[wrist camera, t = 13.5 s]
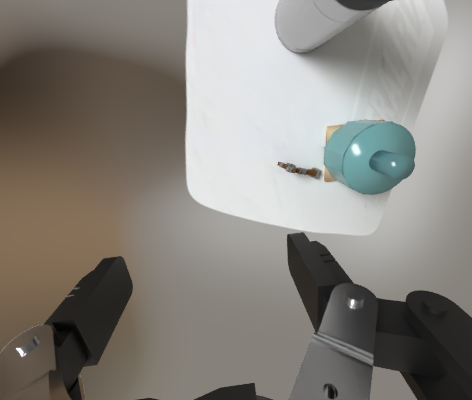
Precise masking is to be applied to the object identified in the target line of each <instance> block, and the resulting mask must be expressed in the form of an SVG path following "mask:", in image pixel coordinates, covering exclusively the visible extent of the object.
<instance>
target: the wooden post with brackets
mask: <svg viewBox="0 0 472 400" xmlns="http://www.w3.org/2000/svg"><path fill="white" fill-rule="evenodd" d="M278 165H279V166H280V167H282V168H285V169H286V171H288V172H292V173H295V172H296V173H298V174H304V175H306V174H308V175H310V176H311V177H314V178H316V179H317V178H318V176H319V173H320V171H321V170H319V169H316V168H312V170H306V169H302V168H295V165H293V164H289V163H287V164H286V165H285V164H284V163H281V162H278Z"/></svg>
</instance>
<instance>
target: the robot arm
mask: <svg viewBox="0 0 472 400" xmlns="http://www.w3.org/2000/svg"><path fill="white" fill-rule="evenodd" d="M388 1H392V0H279V2H278V5H277V8H276V13H275V27H276V32H277V35H278V37H279V39H280V41H281V42H282V44H283V45H284V46H285V47H286V48H287V49H289V50H291V51H293V52H297V53H305V52H310V51H312V50H314V49H315V48H317V47H319V46H321V45H322V44H323V43H325V42H326V41H328V40H330V39H331V38H333V37H334V36H336V35H337V34H339V33H340V32H342V31H343V30H345V29H347V28H348V27H350V26H351V25H353V24H354V23H356V22H357V21H359V20H360V19H362V18H363V17H365V16H367V15H368V14H370V13H371V12H373V11H374V10H376V9H377V8H379V7H380V6H382V5H383V4H385V3H387V2H388ZM287 248H288V249H287V250H288V265H289V270H290V273H291V276H292V278H293V280H294V283H295V285H296V287H297V290H298V292H299V294H300V297H301V299H302V301H303V304H304V306H305V308H306V311H307V313H308V315H309V318H310V320H311V322H312V325H313V327H314V329H315V332H316V333H314V334H313V335H312V337H311V340H310V343H309V345H308V348H307V351H306V353H305V356H304V359H303V362H302V364H301V367H300V370H299V373H298V375H297V378H296V381H295V384H294V386H293V389H292V392H291V395H290V397H289V400H369V399H370V389H371V380H372V370H373V366H376V367H381V368H386V369H391V370H396V371H400V373H401V374H402V376H403V377H404V379H405V381H406V382H407V384H408V385H409V387H410V389H411V390H412V391H413V393H414V395H415V396H416V398H417V400H472V318H471V317H470V316H469V315H468V314H467V313H466V312H464V311H463V310H462V309H461V308H460V307H459V306H458V305H456V304H455V303H454V302H452V301H451V300H449V299H448V298H446V297H444V296H441V295H439V294H436V293H433V292H429V291H413V292H411V293H409V294H408V295H407V297H406V302H401V301H393V300H385V299H379V298H376V296H375V295H374V294H373V293H372V292H371V291H369V290H368V289H367V288H365V287H363V286H360V285H357V284H354V283H353V282H352V280H351V279H350V278H349V277H348V275H347V274H346V273H345V271H344V270H343V269H342V268H341V266H340V265H339V264H338V262H337V261H335V258H334V257H333V256H332V255H331V253H330V252H329V251H328V249H327V248H326V247H325V246H324V245H322V244H320V243H319V242H317V241H312V242H310V241H309V240H308V238H307V236H306V235H305V234H304V233H303V232H301V233H293V234H288V235H287ZM132 290H133V284H132V280H131V277H130V275H129V272H128V269H127V266H126V263H125V261H124V259H123V257H121V256H118V257H111V258H104V259H103V260H102V261H101V262H100V263H99V264H98V266H97V267H96V268H95V269H94V270H93V271H91V272H90V273H89V274H87V275H86V276H85V277H83V278H82V279H81V280H80V281H79V283H78V284H77V285H76V286H75V287H74V290H72V291H71V292H70V294H68V297H66V298H65V300H63V302H62V303H61V304H60V305H59V306H58V308H57V309H56V310H55V311H54V313H53V314H52V315H51V316H50V318H49V319H48V320H47V321H46V322H45V323H44V324H43V325H39V326H35V327H33V328H30V329H28V330H26V331H25V332H23V333H21V334H20V335H18V336H17V337H15V338H14V339H13V340H12V341H11V342H10V343H8V344H7V345H6V347H5V348H4V349H3V350H2V351H1V353H0V400H86V399H85V393H84V388H83V382H82V378H81V376H80V375H79V374H80V372H81V370H82V368H83V367H85V366H92V365H97V364H98V362H99V360H100V358H101V356H102V354H103V351H104V349H105V347H106V345H107V344H108V341H109V339H110V337H111V335H112V333H113V331H114V329H115V327H116V325H117V323H118V321H119V319H120V317H121V315H122V313H123V311H124V309H125V307H126V305H127V303H128V301H129V299H130V297H131V294H132ZM138 400H157V399H152V398H146V399H138ZM194 400H272V399H269V398H266V397H263V396H258V395H256V392H255V384H254V383H250V384H243V385H236V386H229V387H223V388H219V389H217V390H214V391H212V392H210V393H208V394H205V395H203V396H201V397H199V398H197V399H194Z"/></svg>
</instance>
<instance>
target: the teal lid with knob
mask: <svg viewBox="0 0 472 400" xmlns="http://www.w3.org/2000/svg"><path fill="white" fill-rule="evenodd" d="M414 158H415V142H414V139H413V137H412V135H411V133H410V132H409V131H408V130H407V129H406V128H404V127H403V126H401V125H398V124H395V123H393V122H390V121H376V120H359V121H351V122H347V123H346V124H345V125H343V126H342V127H340V128H339V129H337V130H336V131H335V132H333V134H332V136H331V137H330V139H329V141H328V143H327V144H326V146H325V150H324V165H325V167H326V168H327V170H328V172H329V174H330V175H331V177H333V178H335V179H336V180H338V181H339V182H341V183H343V184H344V185H346V186H348V187H349V188H352V189H354V190H356V191H358V192H360V193H363V194H379V193H382V192H385V191H388V190H389V189H391V188H393V187H394V186H396V185H397V184H398V183H399V182H401V181H402V180H403V179H405V178H407V177H408V176H409V175H410V174H411V173H412V172H413V170H414V166H415V163H414Z"/></svg>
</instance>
